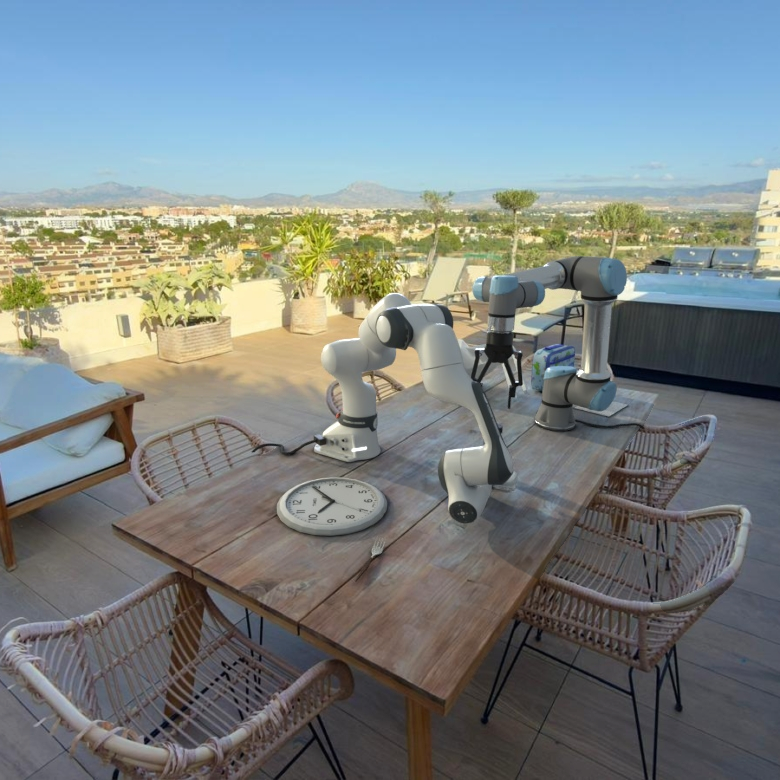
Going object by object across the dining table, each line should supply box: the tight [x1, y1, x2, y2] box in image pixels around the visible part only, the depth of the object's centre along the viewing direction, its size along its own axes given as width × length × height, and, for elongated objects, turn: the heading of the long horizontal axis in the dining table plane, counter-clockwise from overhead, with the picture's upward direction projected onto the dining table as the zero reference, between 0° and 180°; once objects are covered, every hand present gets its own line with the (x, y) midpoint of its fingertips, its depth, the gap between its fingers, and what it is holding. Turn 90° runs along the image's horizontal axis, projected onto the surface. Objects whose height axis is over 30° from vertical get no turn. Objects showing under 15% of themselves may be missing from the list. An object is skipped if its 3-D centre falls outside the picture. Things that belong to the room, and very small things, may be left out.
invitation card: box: [573, 400, 629, 418], centre depth 226 cm, size 21×1×15 cm
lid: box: [497, 422, 504, 435], centre depth 158 cm, size 6×6×2 cm
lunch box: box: [530, 343, 576, 392], centre depth 248 cm, size 26×11×21 cm, turn 134°
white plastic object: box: [457, 338, 531, 400], centre depth 245 cm, size 37×45×31 cm
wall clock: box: [276, 476, 388, 537], centre depth 142 cm, size 30×2×30 cm
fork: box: [354, 536, 387, 583], centre depth 118 cm, size 3×16×2 cm, turn 160°
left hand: (485, 464), depth 154 cm, fingers open, 8 cm apart
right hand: (494, 406), depth 156 cm, fingers open, 8 cm apart
